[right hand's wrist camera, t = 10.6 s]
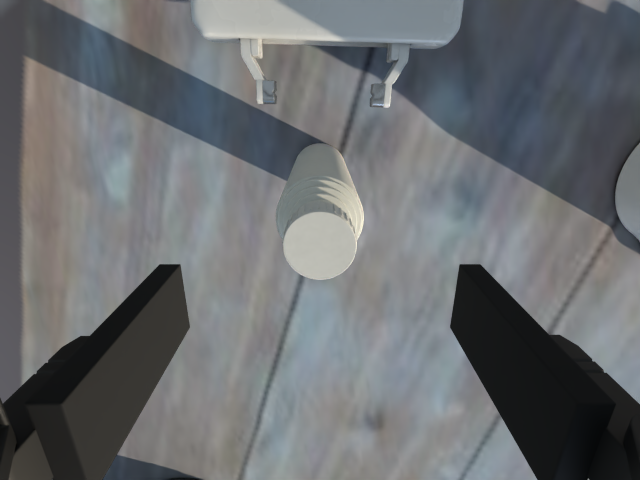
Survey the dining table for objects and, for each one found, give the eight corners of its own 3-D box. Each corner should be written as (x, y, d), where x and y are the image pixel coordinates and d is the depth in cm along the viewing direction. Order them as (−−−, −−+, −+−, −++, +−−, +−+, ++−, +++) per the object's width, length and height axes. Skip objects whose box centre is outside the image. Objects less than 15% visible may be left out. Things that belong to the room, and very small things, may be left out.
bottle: (283, 164, 39) (244, 235, 19) (324, 132, 38) (329, 169, 17) (315, 203, 40) (311, 308, 20) (355, 173, 39) (393, 252, 19)
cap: (270, 228, 20) (265, 240, 18) (325, 185, 19) (326, 194, 17) (314, 277, 21) (313, 293, 19) (368, 239, 20) (372, 252, 18)
